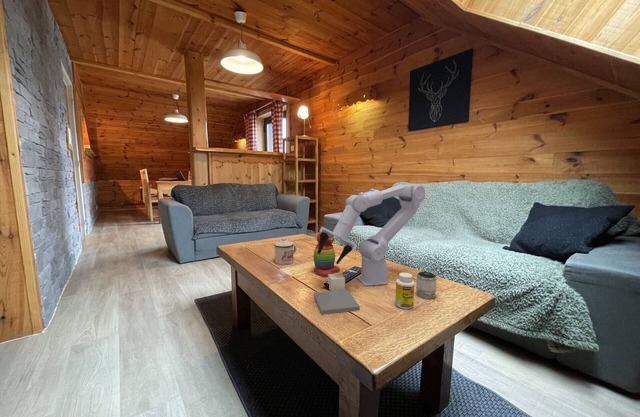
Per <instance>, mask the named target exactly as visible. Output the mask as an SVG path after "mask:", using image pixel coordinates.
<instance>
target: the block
mask: <svg viewBox="0 0 640 417" xmlns="http://www.w3.org/2000/svg"><path fill="white" fill-rule="evenodd" d="M328 284H329V288H328V289H329V292H330V291H341V290H346V278H345V276H344V275H343V274H342V273H340V272H337V273H332V274H328V277H327V285H328Z"/></svg>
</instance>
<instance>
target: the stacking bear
mask: <svg viewBox="0 0 640 417" xmlns="http://www.w3.org/2000/svg"><path fill="white" fill-rule="evenodd" d="M321 233H322V232H320V231H319V232H318V233H317V235H316V240H317V244H316V245H315V247H314V251H313V263H314V269H313V272H314V273H315V275H318V276H320V277H324V278H328V274H337V273H340V267H339V266H337V265H335V263H336V253H335V248H334V245H333V242H334V240H335V239H333V238H331V237H330V236H328V237H329V238H328V240H327V241H326V243H325V245H324V247H323V249H322V251H321V253H320V254H318V253H317V252H318V249H319V245H320V234H321ZM331 236H332V235H331ZM332 237H333V236H332Z"/></svg>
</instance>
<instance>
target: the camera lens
mask: <svg viewBox="0 0 640 417" xmlns="http://www.w3.org/2000/svg"><path fill="white" fill-rule="evenodd" d="M415 284H416V285H415V286H416V287H415V288H416V289H415V290H416V296H418V297H419V298H421V297H422V299H425V298H427V299H426V300H430V299H429V298H432V299H434V298H435V296H436V291H437V290H436V289H437V275H435V274H434V273H432V272H429V271H420V272H417V274H416V283H415ZM433 297H434V298H433Z"/></svg>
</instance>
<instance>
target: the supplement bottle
mask: <svg viewBox="0 0 640 417" xmlns="http://www.w3.org/2000/svg"><path fill="white" fill-rule="evenodd" d="M415 284H416V283H415V281H414V280H413V274H411V273H410V272H400V273H399V274H398V278H397V279H396V282H395V297H394V298H395V299H394V301H395V302H394V304H395V305H396V307H398V308H400V309H405V310H409V309H412V308H413V307H414V302H415V300H414V299H415V286H416V285H415Z"/></svg>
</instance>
